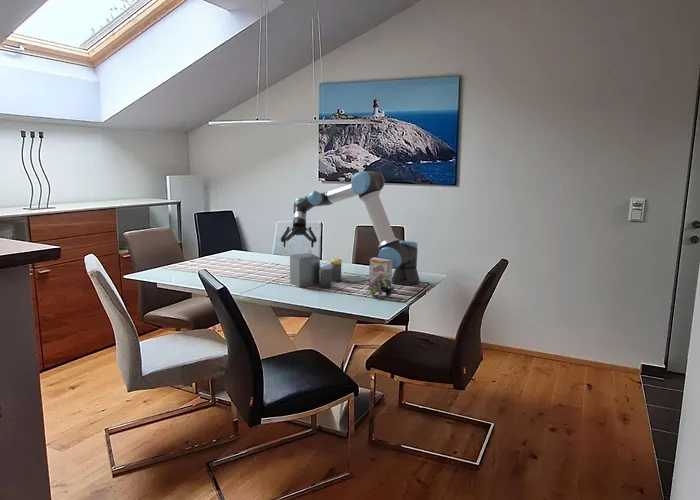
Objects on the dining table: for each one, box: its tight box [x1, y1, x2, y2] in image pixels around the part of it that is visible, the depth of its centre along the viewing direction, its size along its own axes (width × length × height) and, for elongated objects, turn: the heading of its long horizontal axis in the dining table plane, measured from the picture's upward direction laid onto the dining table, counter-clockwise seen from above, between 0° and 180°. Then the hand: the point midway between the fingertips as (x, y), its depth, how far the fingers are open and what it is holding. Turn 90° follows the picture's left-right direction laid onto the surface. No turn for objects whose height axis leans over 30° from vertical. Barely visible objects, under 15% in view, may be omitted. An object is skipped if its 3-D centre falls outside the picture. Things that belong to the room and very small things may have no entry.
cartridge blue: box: [319, 263, 332, 289], centre depth 272 cm, size 6×6×12 cm
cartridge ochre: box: [329, 258, 343, 283], centre depth 285 cm, size 6×6×12 cm
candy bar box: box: [368, 257, 393, 291], centre depth 267 cm, size 11×5×16 cm, turn 59°
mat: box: [341, 274, 369, 284], centre depth 290 cm, size 12×12×1 cm
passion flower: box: [367, 279, 397, 300], centre depth 254 cm, size 11×11×12 cm
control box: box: [289, 252, 321, 288], centre depth 278 cm, size 12×12×16 cm
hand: (298, 251), depth 287 cm, fingers open, 13 cm apart
